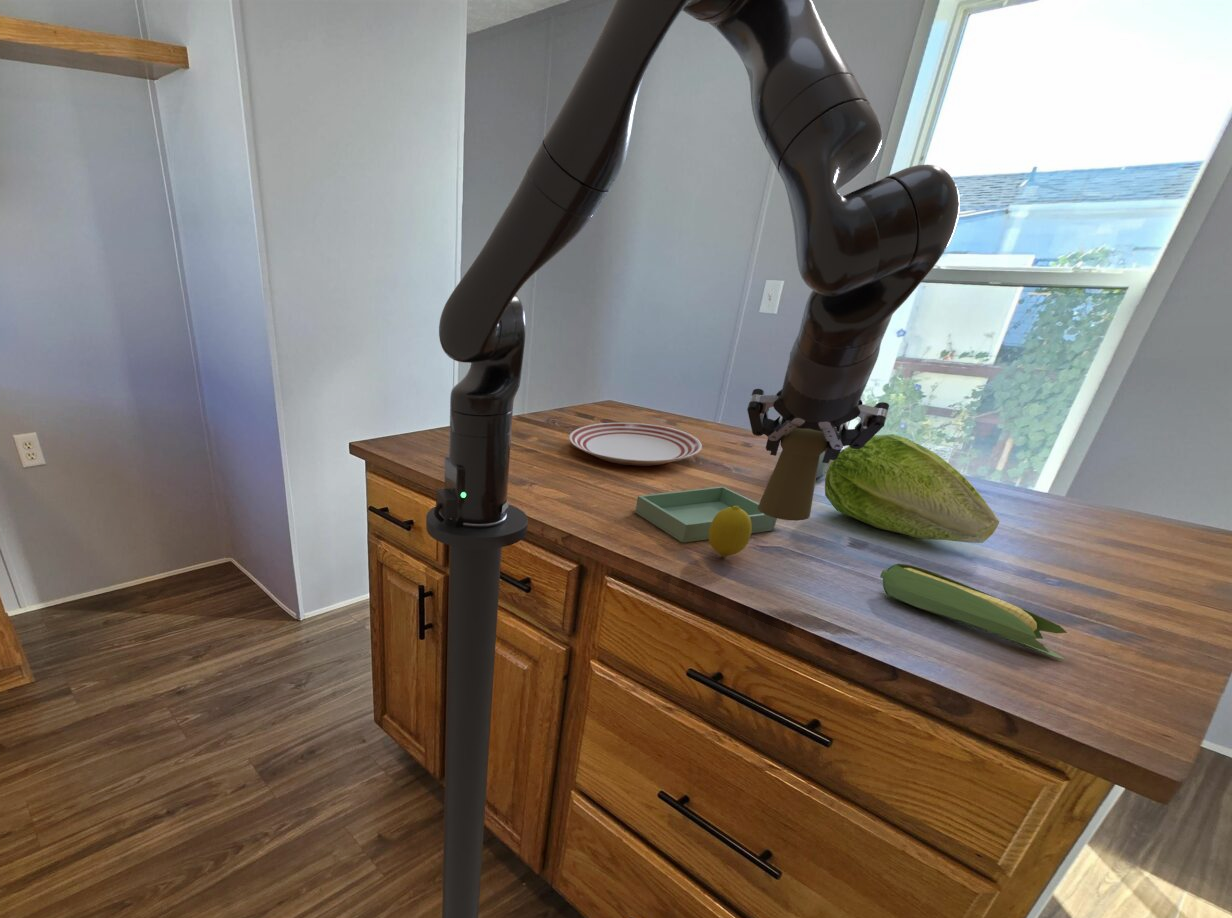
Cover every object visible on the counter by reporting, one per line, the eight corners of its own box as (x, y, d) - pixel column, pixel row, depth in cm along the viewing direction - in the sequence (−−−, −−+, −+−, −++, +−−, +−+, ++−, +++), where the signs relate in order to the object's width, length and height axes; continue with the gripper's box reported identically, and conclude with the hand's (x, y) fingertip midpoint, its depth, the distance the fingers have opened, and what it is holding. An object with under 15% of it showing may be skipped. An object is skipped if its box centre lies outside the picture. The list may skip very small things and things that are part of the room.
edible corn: (886, 585, 89) (898, 555, 86) (1071, 655, 74) (1091, 620, 72) (866, 595, 86) (878, 564, 84) (1054, 669, 72) (1074, 634, 69)
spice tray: (682, 543, 101) (686, 524, 99) (635, 512, 112) (637, 495, 110) (773, 530, 105) (778, 512, 104) (719, 502, 116) (723, 486, 115)
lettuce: (968, 529, 89) (1047, 465, 90) (810, 458, 105) (878, 405, 106) (946, 592, 99) (1017, 533, 100) (805, 518, 116) (867, 469, 117)
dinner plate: (684, 482, 125) (687, 465, 124) (549, 459, 137) (550, 444, 136) (709, 447, 146) (712, 432, 144) (590, 430, 158) (592, 416, 156)
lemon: (707, 563, 94) (719, 511, 90) (700, 547, 99) (712, 497, 95) (747, 566, 93) (762, 514, 90) (739, 550, 98) (752, 500, 94)
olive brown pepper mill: (781, 500, 86) (806, 416, 81) (821, 516, 82) (849, 428, 76) (747, 506, 84) (769, 420, 79) (785, 523, 80) (812, 433, 74)
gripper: (743, 389, 68) (731, 469, 83) (905, 407, 62) (860, 490, 77) (761, 329, 70) (746, 419, 85) (921, 341, 64) (874, 435, 79)
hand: (800, 452), depth 81 cm, fingers closed on olive brown pepper mill, 5 cm apart
